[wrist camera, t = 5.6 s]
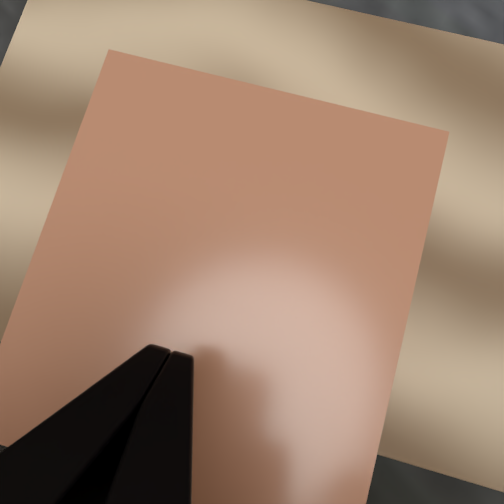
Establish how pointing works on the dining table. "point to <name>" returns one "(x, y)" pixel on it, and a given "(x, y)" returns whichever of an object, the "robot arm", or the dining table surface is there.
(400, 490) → the dining table surface
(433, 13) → the dining table surface
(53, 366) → the tan rectangular block
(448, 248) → the board
